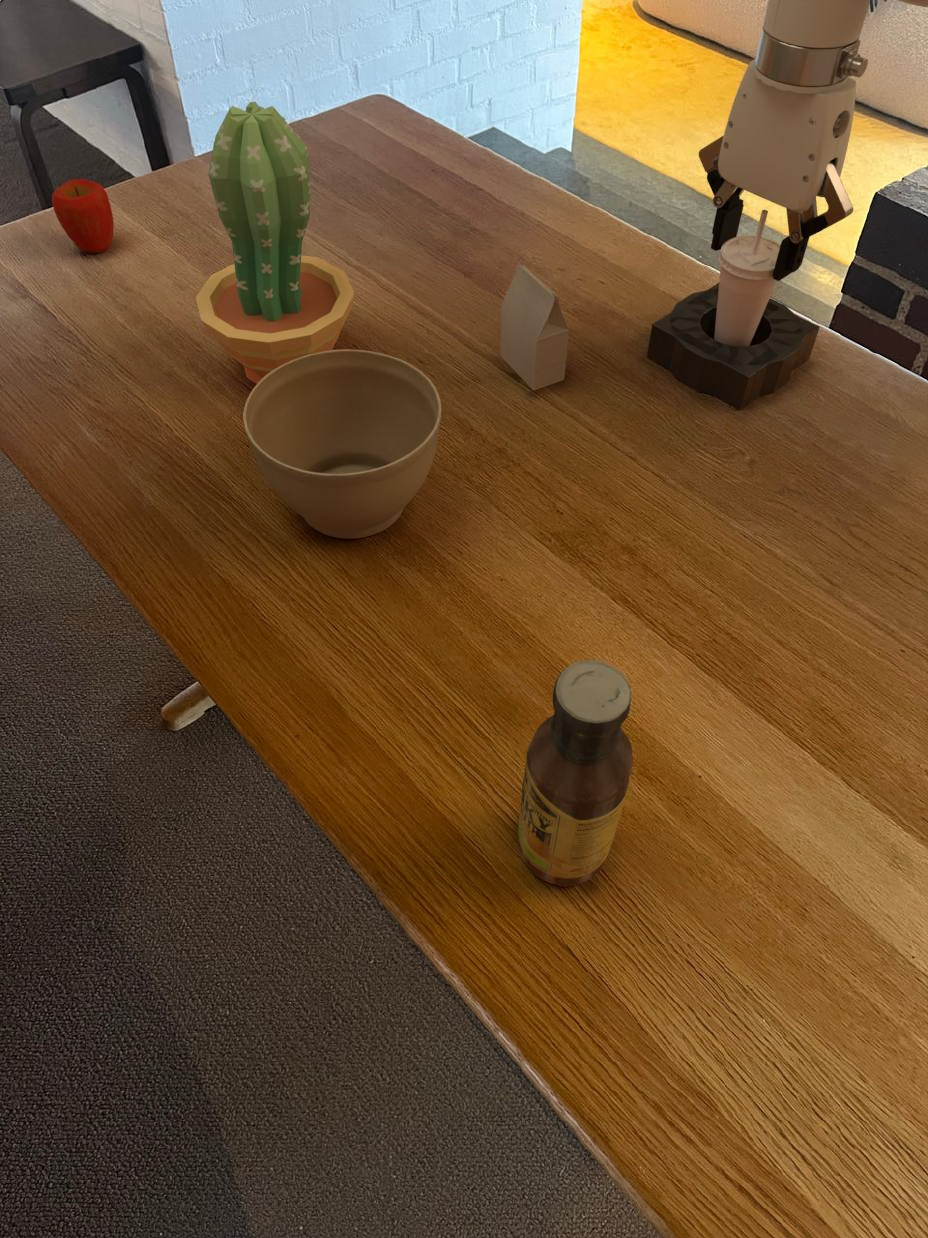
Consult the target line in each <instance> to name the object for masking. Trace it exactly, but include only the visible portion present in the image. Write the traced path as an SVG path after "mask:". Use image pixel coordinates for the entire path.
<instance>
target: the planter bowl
mask: <svg viewBox="0 0 928 1238" xmlns="http://www.w3.org/2000/svg"><path fill="white" fill-rule="evenodd" d="M442 410H443V409H442V401H441V397H440V394H439V392H438V390H437V388H436V386H435V385H434V383H433V382H432V380H431V379H430V378H429V377H428V376H427V375H426V374H425V373H423V371H421V370H420V369H418V368H417V367H415V366H414V365H412V364H411V363H409V362H407V361H405V360H403V359H400V358H398V357H395V356H392V355H389V354H385V353H381V352H376V351H371V350H365V349H364V350H363V349H351V348H350V349H349V348H348V349H345V348H344V349H342V348H341V349H332V350H329V351H323V352H318V353H314V354H309V355H305V356H302V357H299V358H297V359H294V360H291V361H289V362H287V363H285V364H283V365H281V366H279V367H277V368H276V369H274V370H273V371H271V372H270V373H268V374H267V375H266V376H265V377H263V378H262V379H261V380H260V381H259V382H258V383H257V384H255V386H254V387H253V388H252V390H251V391H250V393H249V395H248V397H247V398H246V400H245V404H244V406H243V410H242V417H243V418H242V419H243V420H242V422H243V427H244V430H245V434H246V437H247V439H248V442H249V444H250V446H251V447H252V448H251V449H252V451H253V454H254V458H255V459H256V462H257V464H258V467H259V469H260V471H261V473H262V475H263V477H264V478H265V480H266V482H267V483H268V484H269V486H270V487H271V489H272V490H273V491H274V493H275V494H276V495H277V496H278V497H279V498H280V499H281V500H282V501H283V502H284V504H286V505H287V507H289V508H290V509H291V510H293V512H295V513H296V514H297V515H299V516H301V517H303V519H304V521H305V522H306V523H307V524H308V525H309V526H310V527H311V528H313V529H314V530H316V531H318V532H319V533H321V534H322V535H326V536H329V537H331V538H338V539H347V540H354V539H362V538H367V537H370V536H373V535H374V536H375V535H376V534H379V533H381V532H383V531H385V530H387V529H389V528H390V527H391V526H392V525H394V523H396V522H397V521H398V520H399V518H400V517H401V515H402V513H403V511H404V509H405V507H406V506H407V505H408V504H409V503H410V502H412V500H413V498H415V496H416V495H417V493H418V492H419V490H420V489H421V488H422V486H423V484H424V483H425V481H426V480H427V477H428V475H429V473H430V470H431V468H432V465H433V463H434V459H435V457H436V455H435V454H436V451H437V447H438V441H439V431H440V426H441V422H442Z"/></svg>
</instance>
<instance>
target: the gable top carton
mask: <svg viewBox="0 0 928 1238" xmlns="http://www.w3.org/2000/svg"><path fill="white" fill-rule="evenodd" d="M499 333H500V335H499V356H500V358H502V360H503V361H504V362H505V363H506V364H507V365H508V366H509V367H510V368H511V369H512V370H513V371H514V372H515V373H516V375H518V376H519V377H520V379H521V380H523V381H524V383H525V384H526V385H527V386H528V387H529V388H530V389H531V390H532V391H533V392H534V391H537V390H540V389H543V388H546V387H548V386H551V385H554V384H556V383H559V382H562V381H565V375H566V366H567V357H568V356H567V354H568V346H569V345H568V344H569V336H570V335H569V334H570V328H569V326H568V324H567V322H566V320H565V318H564V314H563V313H562V310H561V306H560V302H559V297H558V296H557V294H556V293H554V292H553V291H552V290H551V289H550V288H549V287H548V286H547V285H546V284H544V283H543V282H542V281H541V280H540V279H539V278H538V277H537V276H536V275H535V274H534V273H533V272H531V271H530V270H529V268H527V267H526V266H525V265H524V264H523V263H520V264H518V263H517V265H516V268H515V272H514V275H513V277H512V281H511V283H510V285H509V287H508V289H507V291H506V294H505V296H504V299H503V300H502V303H501V305H500V330H499Z"/></svg>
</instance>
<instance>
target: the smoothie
mask: <svg viewBox="0 0 928 1238" xmlns="http://www.w3.org/2000/svg"><path fill="white" fill-rule="evenodd" d="M768 214H769V211H768V210H767V209H761V213H760V217H759V221H758V225H757V227H756V228H757V229H756V233H755V235H739V236H738V235H737V236H736V237H734V238H732V239H729V240H727V241H726V242H725V243H724V244H723V245H722V247H721V249H720V250H719V251H720V252H719V254H718V263H719V265H720V270H719V281H718V283H719V291H718V302H717V313H716V324H715V334H714V340H716V341H718V342H720V343H723V344H727V345H731V346H750V343H751V341H752V338H753V336H754V334H755V331H756V329H757V327H758V324H759V322H760V320H761V317H762V315H763V313H764V310H765V308H766V306H767V303H768V301H769V298H771V296H772V293H773V291H774V289H775V287H776V284H777V282H778V281H777V280H775V279H773V277H772V275H773V271H774V267H775V264H776V260H777V256H778V253H779V249H780V245H781V243H779V242H777V241H775V240H773V239H770V238H767V237H764V236H763V235H764V230H765V225H766V222H767V217H768Z"/></svg>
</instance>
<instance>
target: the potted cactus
mask: <svg viewBox="0 0 928 1238" xmlns="http://www.w3.org/2000/svg"><path fill="white" fill-rule="evenodd" d="M207 175H208V178H209V183H210V186H211V190H212V194H213V198H214V202H215V205H216V211H217V213H218V216H219V219H220V221H221V223H222V225H223V227H224V229H225V231H226V233H227V235H228V238H230V241H231V247H232V254H233V255H232V256H233V263H232V264H231V265H229V266H227V267H224V268H223V269H221V270H218V271H217V272H215V273H213V274H211V275H210V276H209V278H208V279H207V281H206V282H205V283H204V285H203V286H202V288H201V289H200V291H199V292H198V293H197V295H196V296H195V300H196V304H197V308H198V313H199V316H200V320H201V323H202V324H203V326H204V328H205V330H206V332H207V334H209V335H210V336H212V337H214V338H215V339H217V340H218V341H219V342H220V343H221V345H222V347H223V348H224V349H225V351H226V352H227V354H228V356H230V357H232V359H234V360H236V362H238V363H240V364H241V365H242V366H243V369H244V372H245V376H246V378H247V379H248V380H249V381H251V382H253V384H255V385H257V383H258V382H259V381H260V380H261V379H262V378H263V377H265V376H266V375H267V374H268V373H270V372H271V371H273V370H274V369H276V368H277V367H279V366H281V365H283V364H285V363H287V362H289V361H291V360H294V359H297V358H299V357H302V356H305V355H309V354H314V353H318V352H323V351H329V350H333V349H334V346H335V344H336V342H337V341H338V339H339V337H340V334H341V331H342V328H343V327H344V324H345V322H346V320H347V318H348V316H349V314H350V313H351V311H352V308H353V305H354V299H355V291H354V289H353V287H352V285H351V282H350V279H349V277H348V275H347V273H346V271H344V270H342V269H341V268H339V267H337V266H335V265H333V264H332V263H329V262H328V261H326V260H325V259H322V258H320V257H318V256H311V255H302V251H303V250H302V248H303V240H304V237H305V234H306V231H307V227H308V223H309V219H310V216H311V208H310V207H311V206H310V200H311V196H312V193H311V176H310V162H309V148H308V147H307V145H305V142H303V141H302V139H301V136H299V135H298V134H297V132H296V131H295V130H294V129H293V128H292V127H291V126H290V124H288V122H287V121H286V118H285V117H284V116H282V114H280V113H279V111H278V109H276V108H275V107H274V106H273V105H270V106H268V107H266V108H265V107H263V106H260V105H259V104H258V103H257V102H256V101H249V102H248V104H247V105H246V107H245V110H243V109H242V108H239V107H236V106H234V105H232V106H230V107H229V109H228V110H227V113H226V115H225V116H224V119H223V121H222V123H221V124H220V126H219V129H218V130H217V132H216V134H215V137H214V141H213V146H212V150H211V159H210V164H209V168H208V174H207Z"/></svg>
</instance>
